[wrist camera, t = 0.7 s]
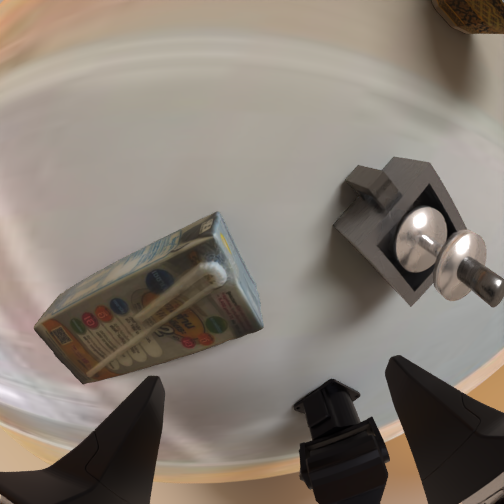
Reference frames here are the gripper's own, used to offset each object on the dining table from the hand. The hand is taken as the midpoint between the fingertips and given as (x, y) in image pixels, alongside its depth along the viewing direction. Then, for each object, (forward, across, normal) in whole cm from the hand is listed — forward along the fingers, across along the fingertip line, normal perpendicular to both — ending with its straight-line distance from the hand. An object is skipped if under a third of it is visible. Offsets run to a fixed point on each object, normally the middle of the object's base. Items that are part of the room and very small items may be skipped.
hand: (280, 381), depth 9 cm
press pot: (+14, -11, -3) cm, 18 cm away
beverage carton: (+14, +10, +4) cm, 18 cm away
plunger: (+9, -12, -2) cm, 15 cm away
